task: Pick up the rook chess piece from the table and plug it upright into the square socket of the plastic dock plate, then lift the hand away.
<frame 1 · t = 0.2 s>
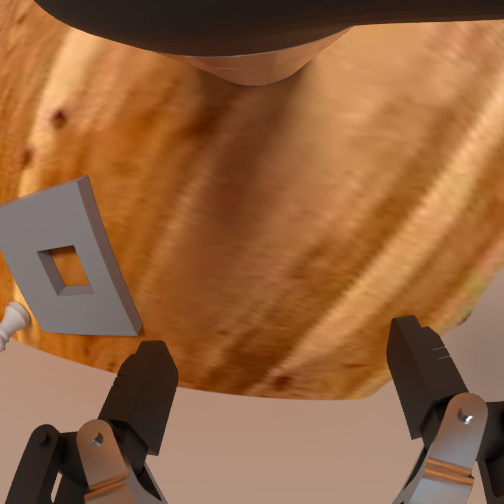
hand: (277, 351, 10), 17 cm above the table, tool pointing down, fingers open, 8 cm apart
socket dock: (61, 264, 30), on the table
rook chess piece: (21, 310, 35), on the table
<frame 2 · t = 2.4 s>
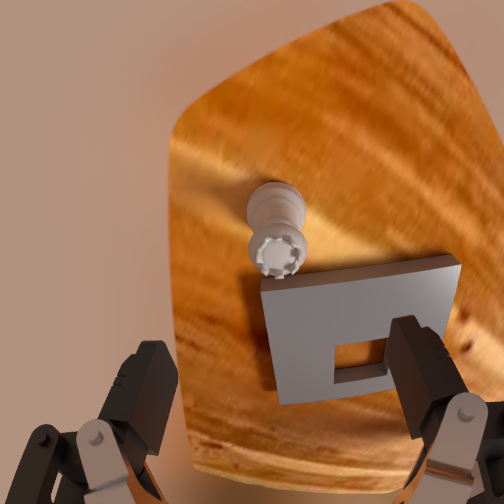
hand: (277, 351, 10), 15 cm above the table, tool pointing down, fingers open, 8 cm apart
socket dock: (360, 334, 28), on the table
rook chess piece: (275, 207, 23), on the table
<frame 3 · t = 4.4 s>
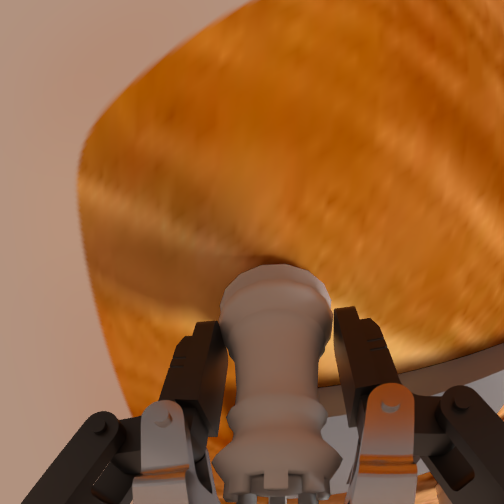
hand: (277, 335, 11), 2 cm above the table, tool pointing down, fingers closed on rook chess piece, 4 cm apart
socket dock: (387, 435, 18), on the table
rook chess piece: (275, 302, 12), on the table, touching gripper
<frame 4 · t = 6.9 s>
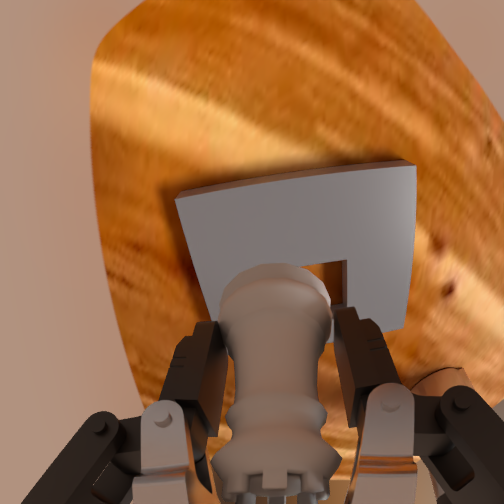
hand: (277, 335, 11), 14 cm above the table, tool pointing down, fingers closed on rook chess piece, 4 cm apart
socket dock: (307, 263, 26), on the table
rook chess piece: (275, 301, 12), point 12 cm above the table, touching gripper
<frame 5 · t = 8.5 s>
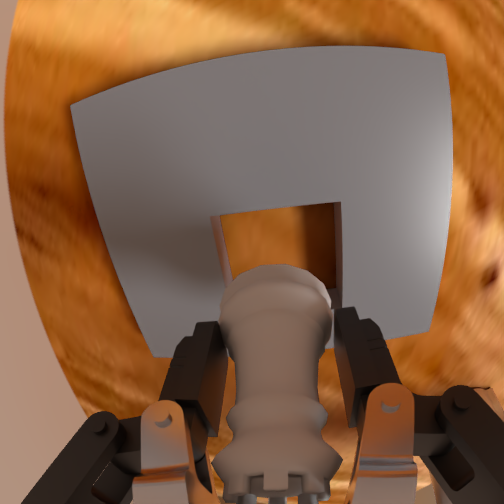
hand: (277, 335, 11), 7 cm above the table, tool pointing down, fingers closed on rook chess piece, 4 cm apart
socket dock: (276, 214, 16), on the table
rook chess piece: (275, 302, 12), point 5 cm above the table, touching gripper
when the fingers open (3 cm above the table, at t = 9.6 s): rook chess piece drops 1 cm, resting in socket dock.
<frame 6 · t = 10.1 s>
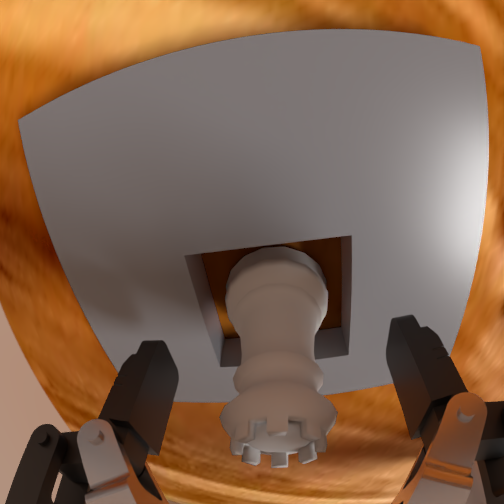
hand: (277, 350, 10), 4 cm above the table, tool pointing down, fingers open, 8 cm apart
socket dock: (270, 245, 13), on the table
rook chess piece: (276, 283, 14), resting in socket dock
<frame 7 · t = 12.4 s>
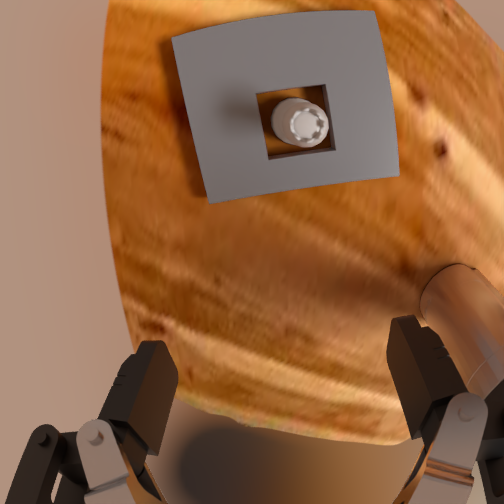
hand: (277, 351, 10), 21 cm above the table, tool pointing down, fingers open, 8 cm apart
socket dock: (290, 99, 25), on the table
rook chess piece: (294, 120, 26), resting in socket dock
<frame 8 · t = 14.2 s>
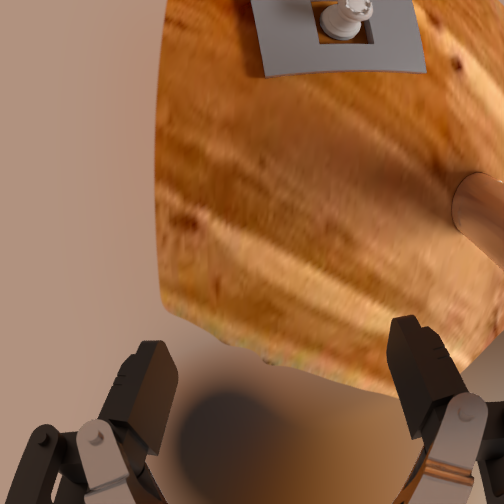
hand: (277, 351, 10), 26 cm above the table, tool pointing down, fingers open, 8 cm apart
socket dock: (335, 8, 24), on the table
rook chess piece: (338, 24, 25), resting in socket dock
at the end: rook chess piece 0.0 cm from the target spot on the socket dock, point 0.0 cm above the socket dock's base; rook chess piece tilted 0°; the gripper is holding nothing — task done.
